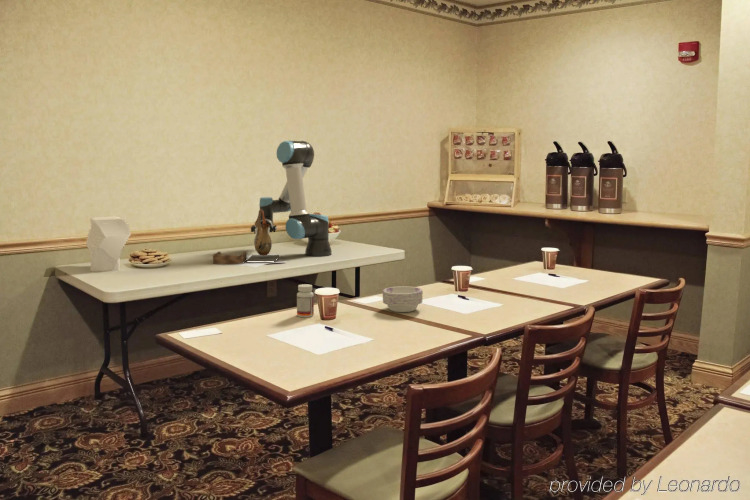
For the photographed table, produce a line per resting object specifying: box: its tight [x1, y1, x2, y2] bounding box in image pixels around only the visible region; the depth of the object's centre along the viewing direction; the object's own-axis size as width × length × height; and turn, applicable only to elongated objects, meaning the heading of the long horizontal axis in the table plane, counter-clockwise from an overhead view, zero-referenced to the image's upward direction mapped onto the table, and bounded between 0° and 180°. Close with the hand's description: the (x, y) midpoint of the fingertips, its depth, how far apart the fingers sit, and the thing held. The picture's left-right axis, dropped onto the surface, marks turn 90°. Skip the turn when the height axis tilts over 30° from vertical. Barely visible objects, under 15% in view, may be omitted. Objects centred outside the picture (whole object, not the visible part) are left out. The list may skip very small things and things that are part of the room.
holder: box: [212, 251, 248, 265], centre depth 363 cm, size 15×13×4 cm
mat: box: [246, 254, 280, 263], centre depth 371 cm, size 15×18×1 cm
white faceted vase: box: [85, 215, 132, 272], centre depth 342 cm, size 21×27×26 cm
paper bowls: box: [382, 285, 424, 313], centre depth 259 cm, size 15×15×8 cm
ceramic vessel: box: [253, 208, 273, 255], centre depth 369 cm, size 16×9×25 cm, turn 30°
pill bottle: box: [296, 283, 315, 318], centre depth 248 cm, size 6×6×11 cm
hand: (262, 231), depth 363 cm, fingers closed on ceramic vessel, 6 cm apart
